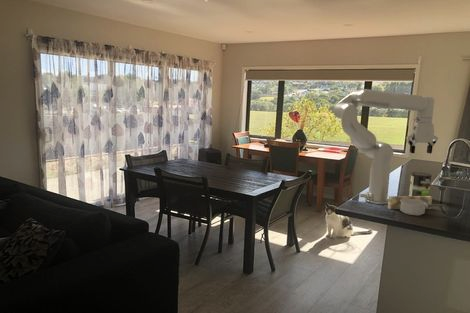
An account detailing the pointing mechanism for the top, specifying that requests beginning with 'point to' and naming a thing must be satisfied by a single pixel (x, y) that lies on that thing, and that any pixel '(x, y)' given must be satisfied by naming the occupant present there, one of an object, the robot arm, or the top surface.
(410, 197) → the stop board
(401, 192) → the top surface
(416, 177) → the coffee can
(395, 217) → the top surface
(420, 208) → the saucepan
